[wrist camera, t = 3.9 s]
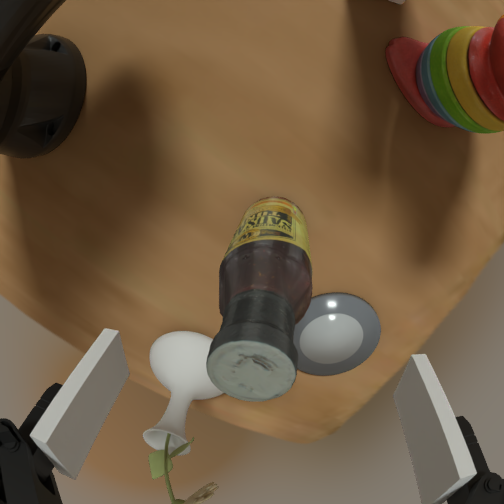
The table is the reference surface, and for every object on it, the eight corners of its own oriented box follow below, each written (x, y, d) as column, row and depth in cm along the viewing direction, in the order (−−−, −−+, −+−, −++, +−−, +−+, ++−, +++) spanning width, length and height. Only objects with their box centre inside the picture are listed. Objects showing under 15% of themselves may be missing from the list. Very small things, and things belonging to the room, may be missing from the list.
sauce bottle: (290, 183, 29) (307, 287, 11) (314, 240, 31) (352, 393, 13) (228, 210, 31) (157, 339, 12) (256, 263, 33) (227, 424, 14)
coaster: (276, 368, 38) (276, 373, 37) (286, 288, 33) (286, 293, 33) (365, 371, 37) (366, 376, 37) (390, 295, 33) (392, 299, 32)
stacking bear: (462, 34, 20) (575, 1, 4) (487, 122, 24) (611, 145, 8) (378, 40, 23) (477, -30, 6) (409, 137, 26) (535, 164, 10)
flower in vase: (198, 396, 42) (155, 551, 19) (138, 348, 39) (58, 504, 16) (266, 359, 38) (248, 555, 15) (201, 299, 35) (118, 509, 12)
